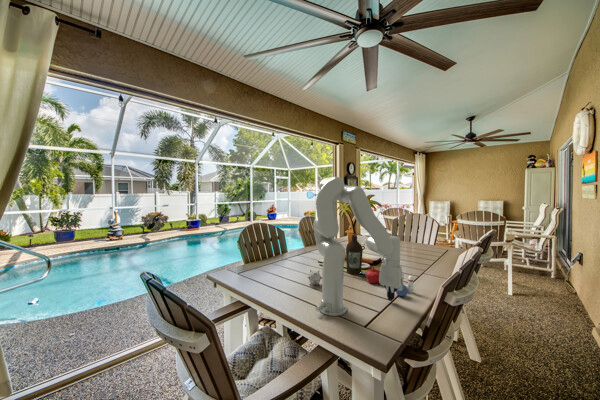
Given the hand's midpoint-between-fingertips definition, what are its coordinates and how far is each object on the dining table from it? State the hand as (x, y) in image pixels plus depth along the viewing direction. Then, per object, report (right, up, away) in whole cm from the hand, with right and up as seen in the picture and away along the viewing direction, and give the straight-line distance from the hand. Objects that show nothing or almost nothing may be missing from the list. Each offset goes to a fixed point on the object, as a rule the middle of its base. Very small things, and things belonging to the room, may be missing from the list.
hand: (390, 299), depth 115 cm
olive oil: (-8, 0, +41) cm, 42 cm away
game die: (-35, -1, +21) cm, 41 cm away
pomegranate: (0, -1, +26) cm, 26 cm away
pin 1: (+11, -1, +15) cm, 19 cm away
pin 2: (+15, -1, +11) cm, 19 cm away
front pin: (+11, 0, +11) cm, 15 cm away
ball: (+8, +2, +7) cm, 11 cm away
